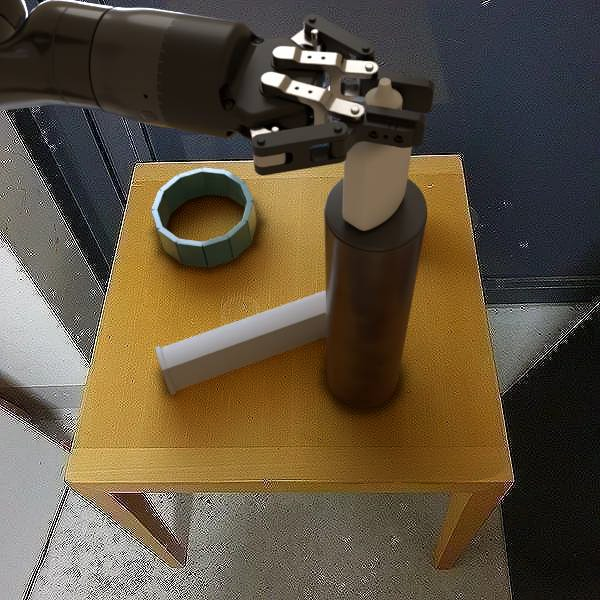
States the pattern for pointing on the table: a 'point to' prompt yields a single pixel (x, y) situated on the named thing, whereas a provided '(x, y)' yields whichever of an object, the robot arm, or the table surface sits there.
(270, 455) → the table surface
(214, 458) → the table surface
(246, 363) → the tube
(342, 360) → the stand
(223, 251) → the teal segmented ring
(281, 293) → the table surface
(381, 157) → the eye dropper bottle
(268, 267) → the table surface
